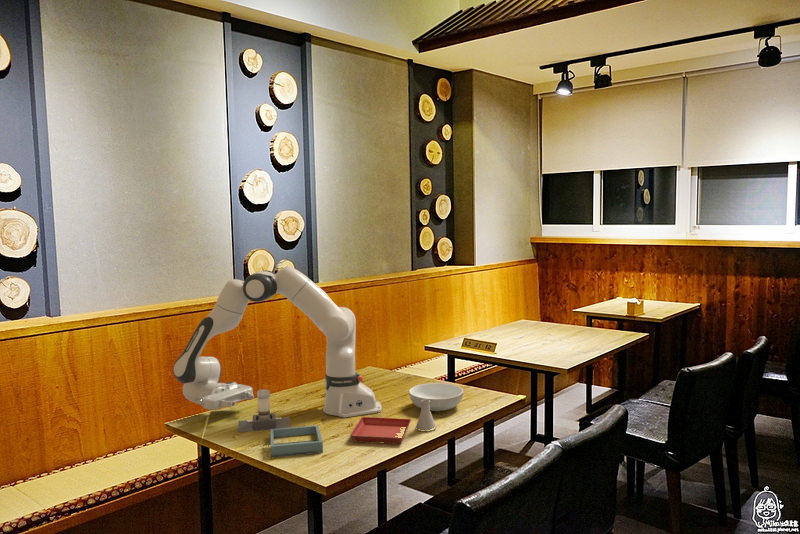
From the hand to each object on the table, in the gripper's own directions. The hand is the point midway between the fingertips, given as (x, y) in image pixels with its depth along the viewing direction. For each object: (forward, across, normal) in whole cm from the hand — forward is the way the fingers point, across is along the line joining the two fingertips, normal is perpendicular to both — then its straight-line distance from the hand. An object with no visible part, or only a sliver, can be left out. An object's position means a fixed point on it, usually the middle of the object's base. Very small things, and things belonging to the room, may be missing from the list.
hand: (242, 400), depth 225 cm
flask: (+61, +28, +8) cm, 67 cm away
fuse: (+11, 0, +7) cm, 13 cm away
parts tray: (+32, -8, +8) cm, 34 cm away
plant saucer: (+51, +15, +9) cm, 54 cm away
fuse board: (+11, 0, +8) cm, 13 cm away
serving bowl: (+52, +50, +9) cm, 73 cm away
